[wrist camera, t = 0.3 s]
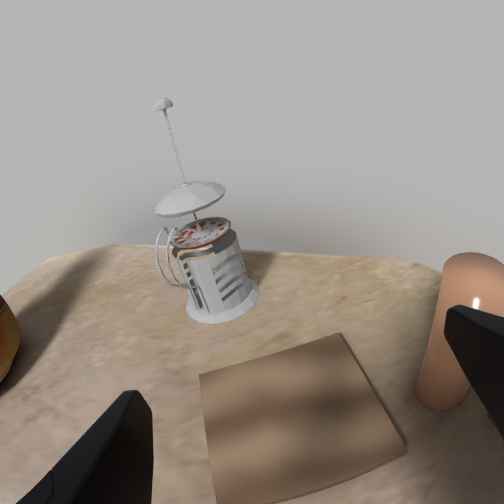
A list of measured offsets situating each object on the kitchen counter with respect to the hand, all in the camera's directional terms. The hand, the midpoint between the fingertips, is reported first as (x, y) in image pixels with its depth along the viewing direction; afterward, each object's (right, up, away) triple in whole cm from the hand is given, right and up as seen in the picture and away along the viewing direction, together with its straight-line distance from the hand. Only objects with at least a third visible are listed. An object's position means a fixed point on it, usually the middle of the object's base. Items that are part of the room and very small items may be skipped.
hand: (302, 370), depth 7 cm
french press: (-6, -3, +31) cm, 32 cm away
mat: (+2, -11, +15) cm, 18 cm away
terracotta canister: (+15, -9, +13) cm, 22 cm away
